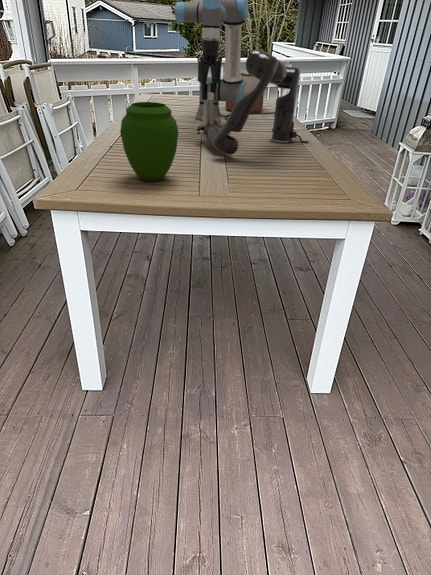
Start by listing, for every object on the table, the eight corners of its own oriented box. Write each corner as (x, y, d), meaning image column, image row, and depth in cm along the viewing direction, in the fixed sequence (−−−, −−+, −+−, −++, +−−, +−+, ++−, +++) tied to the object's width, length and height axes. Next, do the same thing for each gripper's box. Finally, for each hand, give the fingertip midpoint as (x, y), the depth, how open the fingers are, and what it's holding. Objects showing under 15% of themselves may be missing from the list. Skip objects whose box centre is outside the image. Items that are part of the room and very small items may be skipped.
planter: (266, 114, 273) (270, 77, 261) (229, 113, 269) (231, 75, 257) (257, 107, 294) (260, 73, 283) (222, 107, 290) (224, 72, 278)
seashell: (228, 132, 219) (229, 116, 215) (229, 134, 214) (230, 118, 210) (210, 131, 218) (211, 115, 213) (211, 134, 213) (212, 117, 209)
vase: (131, 189, 135) (125, 110, 122) (118, 172, 150) (112, 100, 137) (186, 184, 142) (187, 109, 129) (169, 168, 157) (167, 99, 144)
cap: (207, 98, 190) (208, 92, 189) (215, 99, 188) (216, 93, 187) (201, 98, 187) (201, 92, 186) (209, 100, 185) (209, 94, 183)
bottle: (209, 140, 201) (211, 93, 189) (214, 143, 197) (216, 94, 186) (200, 141, 198) (201, 93, 187) (205, 143, 195) (206, 94, 184)
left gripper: (218, 39, 183) (216, 96, 195) (189, 39, 172) (189, 99, 184) (231, 40, 178) (227, 99, 191) (201, 39, 168) (200, 101, 180)
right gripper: (231, 125, 182) (221, 118, 196) (200, 126, 179) (191, 118, 193) (230, 143, 186) (220, 135, 200) (199, 143, 183) (191, 135, 197)
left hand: (208, 99), depth 188 cm, fingers closed on cap, 5 cm apart
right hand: (206, 127), depth 196 cm, fingers closed on bottle, 5 cm apart
